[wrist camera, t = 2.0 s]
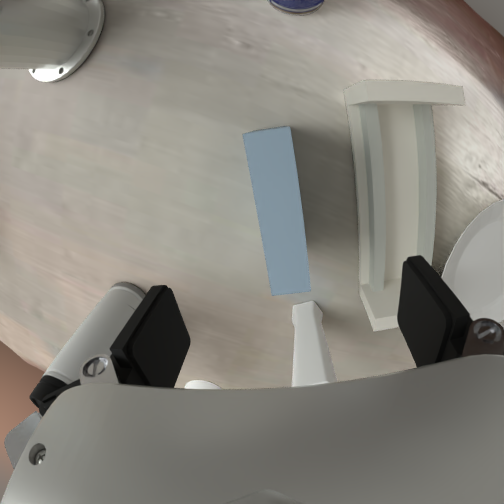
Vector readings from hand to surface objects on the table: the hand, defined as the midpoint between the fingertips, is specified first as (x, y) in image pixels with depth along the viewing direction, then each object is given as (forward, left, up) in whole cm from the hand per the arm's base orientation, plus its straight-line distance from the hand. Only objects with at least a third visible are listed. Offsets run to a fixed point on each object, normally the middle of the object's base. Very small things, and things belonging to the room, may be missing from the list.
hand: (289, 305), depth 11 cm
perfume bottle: (+15, +1, -18) cm, 24 cm away
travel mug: (+11, -21, -18) cm, 30 cm away
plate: (+13, +28, -19) cm, 36 cm away
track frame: (+2, +12, -18) cm, 22 cm away
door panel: (0, 0, -18) cm, 18 cm away
